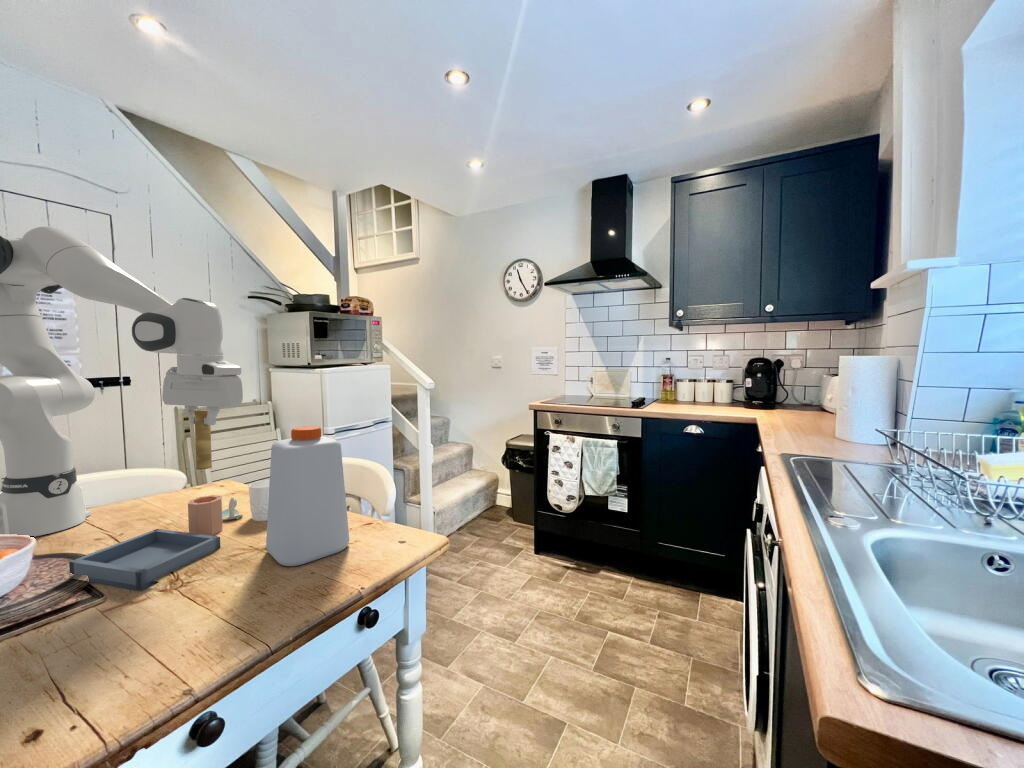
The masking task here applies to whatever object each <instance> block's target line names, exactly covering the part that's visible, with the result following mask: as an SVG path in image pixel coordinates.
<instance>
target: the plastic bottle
mask: <svg viewBox="0 0 1024 768" xmlns="http://www.w3.org/2000/svg"><path fill="white" fill-rule="evenodd" d="M290 437H291V438H287V439H281V440H280V439H279V440H277V441H275V442H274V443H273V444H272V446H271V448H270V449H271V453H270V465H269V466H270V468H269V469H270V470H269V479H270V483H269V501H268V519H267V520H266V521H267V524H266V540H265V542H266V543H265V549H266V551H267V553H268V554H269V555H270V556H271V557H272V558H273V559H274V560H275V561H276V562H277V563H278V564H279V565H282V566H285V567H296V566H301V565H304V564H308V563H311V562H314V561H317V560H320V559H322V558H325V557H329V556H331V555H334V554H337V553H339V552H342V551H343V550H345V549H346V548H347V547H348V545H349V543H350V532H349V531H350V530H349V521H348V509H347V499H346V486H345V477H344V476H345V475H344V467H343V464H344V463H343V452H342V445H341V443H340V441H339V440H336V439H335V438H331V437H330V436H329V437H328V436H324V435H322V428H321V427H320V426H318V425H316V426H315V425H309V426H308V425H306V426H298V427H293V428H292V429H291V430H290Z"/></svg>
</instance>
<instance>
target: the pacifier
mask: <svg viewBox="0 0 1024 768" xmlns="http://www.w3.org/2000/svg"><path fill="white" fill-rule="evenodd" d="M237 505H238V500H237V499H236V497H231V498H230V500H229V502H228V508H226V509H224V510H222V516H223V521H232V520H237V519H238V518H242V517H243V516H244V515H243V514H240V512H239V511H238V509H235V508H237ZM228 516H229V517H228ZM225 517H226V518H225ZM227 517H228V518H227Z"/></svg>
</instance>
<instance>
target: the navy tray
mask: <svg viewBox="0 0 1024 768" xmlns="http://www.w3.org/2000/svg"><path fill="white" fill-rule="evenodd" d="M219 549H221V536H219V535H217V536H215V535H212V536H210V535H202V534H194V533H189V532H186V531H178V530H171V529H162V528H156V529H153V530H150V531H148V532H145V533H142V534H140V535H137V536H134V537H132V538H129V539H125V540H123V541H121V542H118V543H116V544H113V545H111V546H107V547H105V548H102V549H100V550H96V551H94V552H91V553H89V554H86V555H84V556H81V557H78V558H75V559H73V560H70V561H69V562H68V564H69V567H68V568H69V574H70V573H72V574H83V575H87V576H88V578H89V582H88V583H90V584H96V585H102V586H107V587H108V586H109V587H113V588H115V587H116V588H120V589H124V590H131V591H136V592H142V591H145V590H146V589H149V588H151V587H153V586H155V585H157V584H159V583H160V581H156V580H157V579H159V578H162V577H163V576H165V575H168V574H169V573H171V572H174V571H176V570H179V569H180V568H182V567H183V566H186V565H188V564H190V563H192V562H194V561H196V560H198V559H201V558H203V557H204V556H205V557H206V555H208V554H211V553H213V552H215V551H217V550H219Z"/></svg>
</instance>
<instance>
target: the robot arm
mask: <svg viewBox="0 0 1024 768" xmlns="http://www.w3.org/2000/svg"><path fill="white" fill-rule="evenodd" d="M59 289H64V290H66V291H67V292H70V293H72V294H73V295H76V296H78V297H80V298H83V299H86V300H89V301H94V302H100V303H103V304H110V305H114V306H119V307H123V308H126V309H130V310H134V311H136V312H137V313H140V315H138V316H137V317H136V318H135V320H134V321H133V323H132V326H131V336H132V338H133V341H134V343H135V344H136V346H138V348H140V349H141V350H144V351H145V352H151V353H155V354H174V355H175V354H176V366H171V367H170V368H169V369H167V371H166V372H165V377H164V378H163V382H162V383H163V384H162V394H161V395H162V396H161V400H162V402H163V403H164V405H167V406H184V411H185V413H186V415H187V417H188V420H189V421H188V423H189V424H190V425H194V426H195V414H194V411H197V410H199V408H198V407H206V410H207V411H209V413H208V415H207V418H204V425H211V426H215V425H216V424H217V423H216V421H217V416H218V414H219V413H220V410H221V408H236V407H240V406H241V404H242V403H243V400H244V399H243V397H244V396H243V382H242V379H241V377H240V375H242V367H241V366H239V365H237V364H235V363H232V362H229V361H228V360H225V359H224V352H223V350H222V341H223V335H224V334H223V332H224V331H223V330H224V328H223V320H222V315H221V310H220V309H219V307H218V305H216V304H215V303H213V302H210V301H206V300H205V301H204V300H200V299H195V298H190V297H188V298H187V297H182V298H179V299H177V300H176V301H175V303H173V302H172V301H171V300H169V299H168V298H166V297H164V296H163V295H161V294H160V293H159V292H157V291H156V290H154V289H152V288H150V287H148V286H147V285H146V284H145V283H143V282H142V281H140V280H138V279H137V278H135V277H134V276H132V275H131V274H129V273H128V272H126V271H125V270H124V269H122V268H121V267H119V266H118V265H117V264H115V263H114V262H113V261H111V260H109V258H107V257H106V256H104V255H103V254H102V253H101V252H99V251H98V250H96V248H94V247H93V246H91V245H90V244H88V243H87V242H85V241H83V240H82V239H80V238H78V237H77V236H75V235H73V234H72V233H69V232H67V231H65V230H63V229H61V228H57V227H53V226H38V227H34V228H31V229H30V230H28V231H27V232H25V233H24V234H23V236H22V238H19V237H9V236H2V235H0V365H2V366H3V367H5V368H6V369H7V370H8V372H10V373H11V375H2V376H0V442H1V444H2V448H3V455H4V464H5V465H4V466H5V473H6V474H5V475H6V476H4V477H3V478H1V480H3V481H0V483H1V488H0V489H1V490H0V491H1V493H0V534H17V535H29V536H34V537H39V536H44V535H47V534H52V533H56V532H61V531H64V530H68V529H69V528H73V527H74V526H77V525H80V524H83V522H85V520H86V518H87V517H89V516H91V515H92V511H91V509H87V508H86V502H85V497H84V491H83V487H82V486H80V485H78V484H76V483H77V480H78V479H77V478H78V477H77V476H78V473H77V469H76V467H74V454H73V453H74V452H73V441H72V438H70V437H69V436H67V435H65V434H64V433H61V432H60V431H59V430H58V429H57V427H56V426H55V423H54V421H53V417H57V416H64V415H69V414H72V413H75V412H78V411H80V410H83V409H86V408H88V407H89V406H90V405H91V404H92V403H93V401H94V399H95V396H96V395H95V394H96V391H95V388H94V386H93V385H92V383H91V382H90V381H89V379H86V378H85V377H83V376H80V375H79V374H78V373H76V372H75V371H74V370H73V369H72V368H71V367H70V366H69V365H68V364H67V362H65V360H64V359H63V358H62V357H61V356H60V354H59V352H58V351H57V350H56V349H55V347H54V344H53V343H52V339H51V337H50V335H49V333H48V330H47V327H46V324H45V322H44V320H43V316H42V315H41V312H40V309H39V307H38V305H37V302H36V301H37V300H36V297H37V295H38V293H39V292H42V293H44V294H47V295H51V294H55V292H57V291H59Z"/></svg>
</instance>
